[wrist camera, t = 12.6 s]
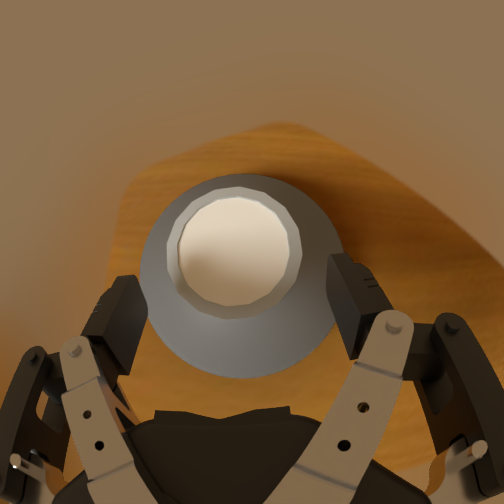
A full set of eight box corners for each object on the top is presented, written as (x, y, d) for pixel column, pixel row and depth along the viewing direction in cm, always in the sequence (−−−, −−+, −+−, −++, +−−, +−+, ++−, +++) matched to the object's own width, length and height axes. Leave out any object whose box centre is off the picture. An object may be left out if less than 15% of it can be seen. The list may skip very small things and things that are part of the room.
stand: (326, 194, 26) (336, 174, 22) (335, 365, 22) (348, 373, 18) (164, 198, 26) (150, 179, 22) (156, 363, 22) (137, 369, 19)
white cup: (211, 331, 19) (184, 336, 12) (187, 243, 21) (154, 208, 14) (302, 303, 19) (322, 293, 13) (272, 217, 21) (276, 170, 14)
